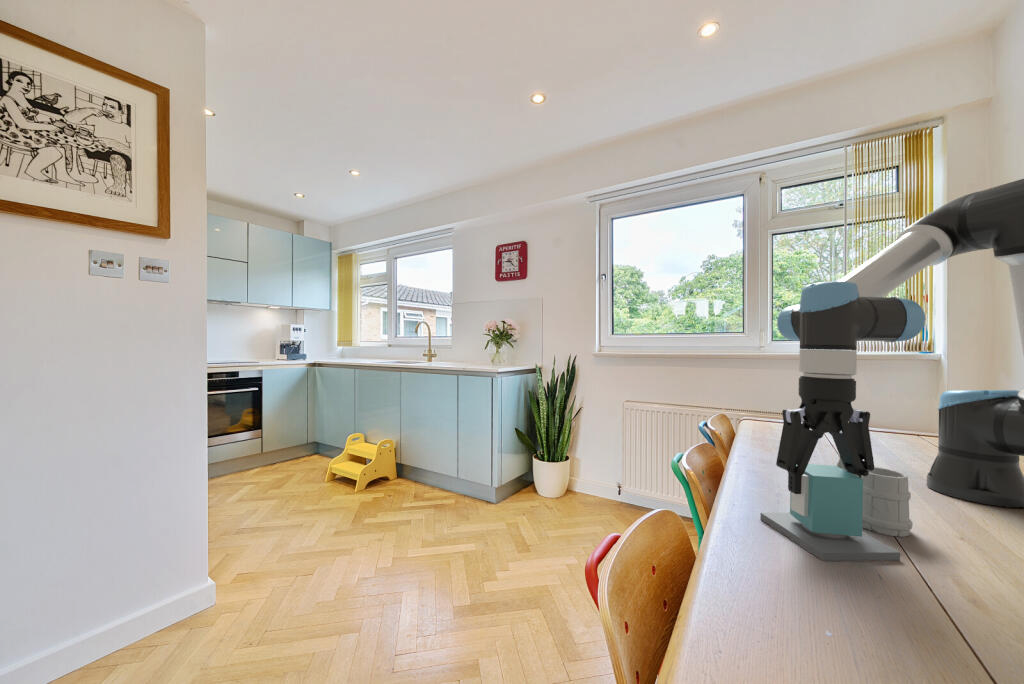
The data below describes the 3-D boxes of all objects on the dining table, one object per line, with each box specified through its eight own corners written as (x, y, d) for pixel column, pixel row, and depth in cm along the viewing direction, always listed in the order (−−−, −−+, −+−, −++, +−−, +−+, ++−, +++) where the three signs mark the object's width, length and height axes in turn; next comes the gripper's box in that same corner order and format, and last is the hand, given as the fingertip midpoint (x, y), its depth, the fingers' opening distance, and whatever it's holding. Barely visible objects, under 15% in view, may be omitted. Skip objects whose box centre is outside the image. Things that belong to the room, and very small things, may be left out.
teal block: (790, 513, 71) (790, 462, 71) (834, 517, 70) (835, 465, 70) (812, 532, 64) (813, 475, 64) (862, 536, 63) (863, 479, 63)
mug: (901, 541, 66) (902, 469, 66) (819, 513, 76) (820, 451, 76) (920, 532, 69) (921, 463, 69) (839, 506, 80) (840, 446, 80)
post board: (823, 519, 74) (824, 477, 74) (900, 560, 60) (901, 509, 60) (760, 519, 74) (761, 477, 74) (823, 560, 60) (824, 509, 60)
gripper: (862, 374, 71) (860, 502, 71) (751, 373, 70) (749, 504, 70) (907, 378, 64) (905, 521, 64) (784, 377, 62) (782, 523, 62)
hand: (824, 512), depth 67 cm, fingers closed on teal block, 8 cm apart
